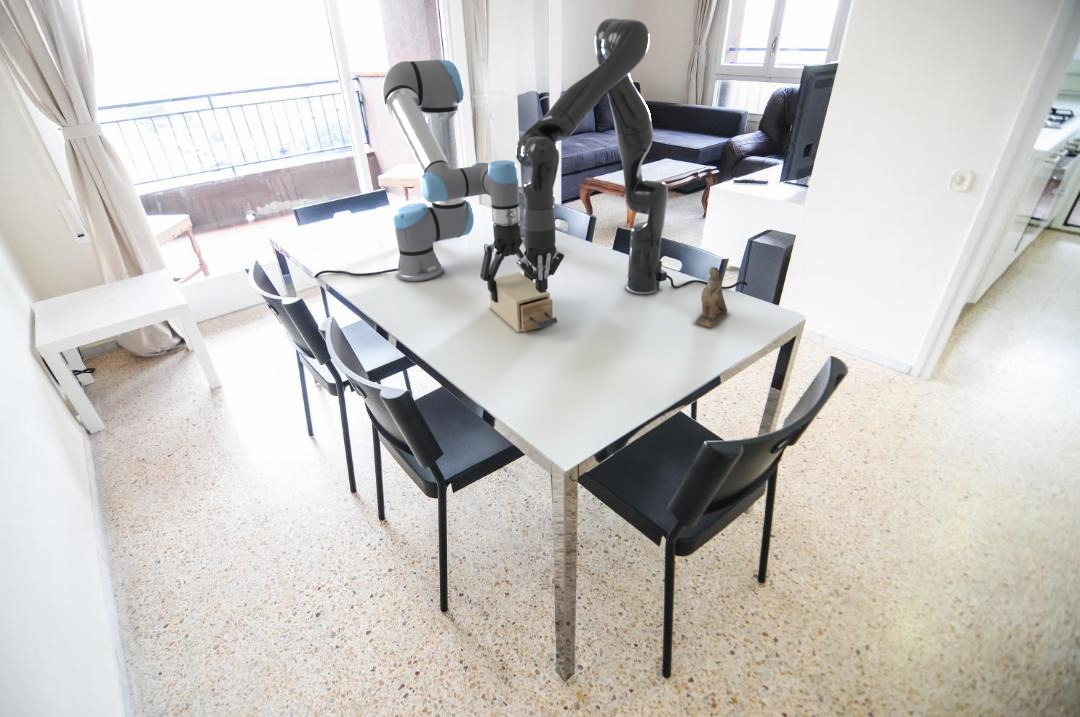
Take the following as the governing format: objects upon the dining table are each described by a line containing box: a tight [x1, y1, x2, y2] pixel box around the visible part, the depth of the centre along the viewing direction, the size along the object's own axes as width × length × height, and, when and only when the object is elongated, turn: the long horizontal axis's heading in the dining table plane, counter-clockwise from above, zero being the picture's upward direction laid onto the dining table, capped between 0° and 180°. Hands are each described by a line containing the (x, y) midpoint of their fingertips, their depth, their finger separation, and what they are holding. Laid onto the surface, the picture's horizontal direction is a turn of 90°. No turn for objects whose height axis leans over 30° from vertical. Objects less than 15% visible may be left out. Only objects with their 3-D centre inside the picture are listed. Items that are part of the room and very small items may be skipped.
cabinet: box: [488, 271, 551, 333], centre depth 143 cm, size 18×10×9 cm, turn 29°
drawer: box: [519, 297, 558, 333], centre depth 139 cm, size 23×9×7 cm, turn 29°
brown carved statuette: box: [695, 266, 728, 328], centre depth 135 cm, size 12×6×18 cm, turn 136°
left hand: (511, 296), depth 147 cm, fingers closed on cabinet, 10 cm apart
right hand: (541, 291), depth 128 cm, fingers closed
